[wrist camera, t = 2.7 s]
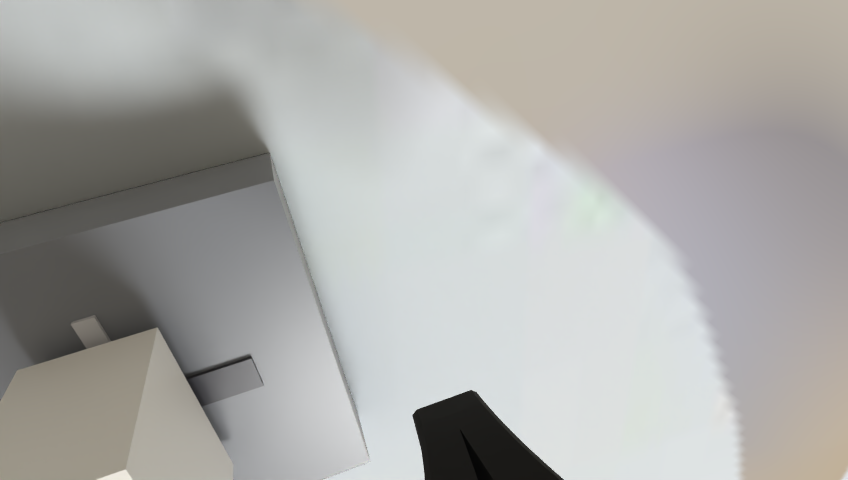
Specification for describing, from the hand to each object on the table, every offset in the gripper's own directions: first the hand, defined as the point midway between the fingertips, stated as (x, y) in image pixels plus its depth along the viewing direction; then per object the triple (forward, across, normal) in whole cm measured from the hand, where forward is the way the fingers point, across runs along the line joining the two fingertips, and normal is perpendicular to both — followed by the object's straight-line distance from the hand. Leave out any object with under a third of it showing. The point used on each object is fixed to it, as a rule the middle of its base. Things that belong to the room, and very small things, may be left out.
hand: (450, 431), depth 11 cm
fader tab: (+4, +7, 0) cm, 8 cm away
